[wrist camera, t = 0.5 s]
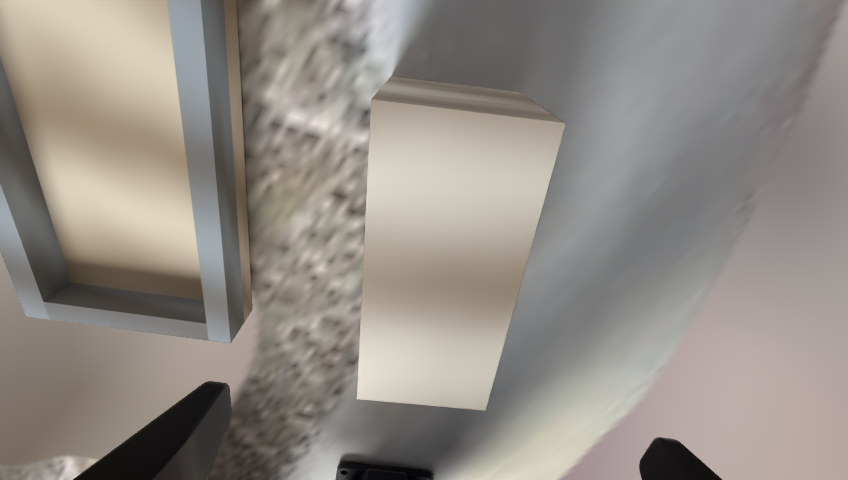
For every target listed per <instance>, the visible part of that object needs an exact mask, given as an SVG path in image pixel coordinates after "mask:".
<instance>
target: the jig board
mask: <svg viewBox="0 0 848 480" xmlns="http://www.w3.org/2000/svg"><path fill="white" fill-rule="evenodd" d="M0 251H1V254H2V257H3V259H4V262H5V264H6V267H7V269H8V272H9V274H10V277H11V279H12V281H13V284H14V287H15V289H16V292H17V294H18V297H19V299H20V302H21V304H22V306H23V309H24V312H25V314H26V316H27V317H34V318H42V319H50V320H57V321H65V322H72V323H80V324H88V325H96V326H103V327H110V328H118V329H126V330H133V331H141V332H149V333H156V334H164V335H171V336H179V337H187V338H195V339H202V340H209V341H217V342H224V343H231V342H232V340H233V339H234V337H235V336H236V334H237V333H238V331H239V330H240V328H241V326H242V325H243V323H244V322H245V320H246V319H247V317H248V316H249V314H250V312H251V311H252V293H251V273H250V254H249V234H248V214H247V195H246V175H245V155H244V136H243V116H242V96H241V77H240V57H239V37H238V18H237V0H0Z"/></svg>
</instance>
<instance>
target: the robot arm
mask: <svg viewBox="0 0 848 480" xmlns="http://www.w3.org/2000/svg"><path fill="white" fill-rule="evenodd" d="M231 412H232V410H231V398H230V388H229V386H228V384H226V383H221V382H213V381H209V382H205V383H203V384H202V385H201V386H199V387H198V388H197V389H195V390H194V391H192V392H191V393H190V394H188V395H187V396H186V397H185V398H183V399H182V400H180V401H179V402H178V403H176V404H175V405H173V406H172V407H171V408H169V409H168V410H167V411H165V412H164V413H163V414H161V415H160V416H159V417H157V418H156V419H154V420H153V421H152V422H150V423H149V424H148V425H146V426H145V427H144V428H142V429H141V430H140V431H138V432H137V433H135V434H134V435H133V436H131V437H130V438H129V439H127V440H126V441H125V442H123V443H122V444H121V445H119V446H118V447H117V448H115V449H114V450H112V451H111V452H110V453H108V454H107V455H106V456H104V457H103V458H102V459H100V460H99V461H97V462H96V463H95V464H93V465H92V466H91V467H89V468H88V469H87V470H85V471H84V472H83V473H81V474H80V475H78V476H77V477H76V478H74V479H73V480H207V479H208V476H209V473H210V471H211V468H212V466H213V463H214V461H215V458H216V456H217V453H218V450H219V448H220V445H221V443H222V440H223V438H224V435H225V432H226V430H227V427H228V425H229V422H230V418H231ZM639 469H640V474H641V478H642V480H722V479H721V478H720V477H719V476H718V475H716V474H715V473H714V472H713V471H712V470H711V469H710V468H708V467H707V466H706V465H705V464H704V463H703V462H702V461H701V460H700V459H698V458H697V457H696V456H695V455H694V454H693V453H691V452H690V451H689V450H688V449H687V448H686V447H685V446H684V445H683V444H681V443H680V442H679V441H677V440H674V439H669V438H661V437H658V438H655V439H654V440H653V441H652V443H651V444H650V446H649V448H648V449H647V450H646V452H645V453H644V455H643V456H642V458H641V460H640V464H639ZM336 480H433V474H432V473H430V472H426V471H417V470H408V469H400V468H391V467H382V466H373V465H365V464H356V463H347V462H343V463H340V464H339V465H338V468H337V474H336Z"/></svg>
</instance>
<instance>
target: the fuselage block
mask: <svg viewBox="0 0 848 480" xmlns="http://www.w3.org/2000/svg"><path fill="white" fill-rule="evenodd" d="M565 125H566V123H565V122H563V121H562V120H560V119H559V118H557V117H556V116H555V115H553V114H552V113H550V112H549V111H547V110H546V109H544V108H543V107H541V106H540V105H538V104H537V103H535V102H534V101H532V100H531V99H529V98H528V97H526V96H525V95H523V94H522V93H520V92H516V91H508V90H500V89H492V88H484V87H476V86H468V85H460V84H452V83H444V82H436V81H428V80H420V79H411V78H403V77H395V76H391V77H390V78H389V79H388V81H387V82H386V83H385V84H384V85H383V86H382V88H381V89H380V90H379V91H378V92H377V94H376V95H375V96H374V97H373V98H372V99H371V118H370V139H369V159H368V180H367V200H366V221H365V241H364V262H363V282H362V303H361V323H360V344H359V364H358V385H357V399H361V400H372V401H383V402H395V403H406V404H417V405H428V406H439V407H451V408H462V409H473V410H484V411H486V407H487V403H488V400H489V396H490V393H491V389H492V386H493V382H494V378H495V375H496V371H497V368H498V364H499V361H500V357H501V353H502V350H503V346H504V343H505V339H506V336H507V332H508V328H509V325H510V321H511V318H512V314H513V311H514V307H515V303H516V300H517V296H518V293H519V289H520V286H521V282H522V278H523V275H524V271H525V268H526V264H527V261H528V257H529V253H530V250H531V246H532V243H533V239H534V236H535V232H536V228H537V225H538V221H539V218H540V214H541V211H542V207H543V203H544V200H545V196H546V193H547V189H548V186H549V182H550V178H551V175H552V171H553V168H554V164H555V161H556V157H557V153H558V150H559V146H560V143H561V139H562V136H563V132H564V128H565Z"/></svg>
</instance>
